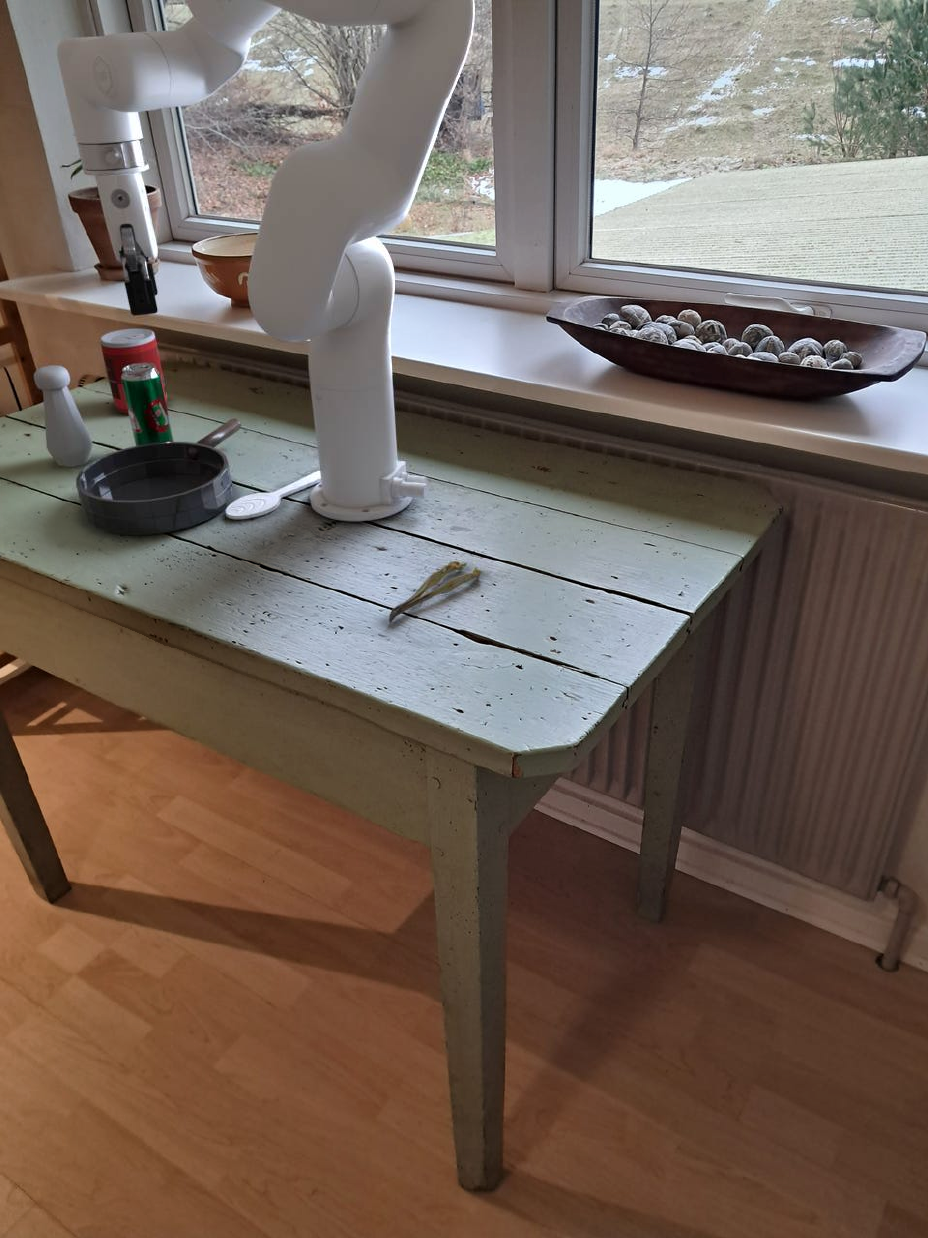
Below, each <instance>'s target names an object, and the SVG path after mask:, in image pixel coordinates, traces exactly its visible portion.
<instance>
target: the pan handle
mask: <svg viewBox="0 0 928 1238" xmlns="http://www.w3.org/2000/svg"><path fill="white" fill-rule="evenodd" d="M241 427H242V423H241V421H240V420H239V419H237V418H231V419H229V420H228V421H226V422H225V423H223V424H221V425H220V426H218V427H217V428H216V429H214V430H213V431H212V432H210V433H208V434H207V435H205V436H204V437H202V438H201V439H199V440H198V441H197V442H196V443H199V444H204V445H207V446H211V447H214V448H216V447H218V446H219V445H220V444H222V443H223V442H224V441H226V440H227V439H229V438H231V436H233V435H234V434H236V433H238V431H239V430H241ZM187 453H188V456H189V457H190V458H191V459H194V460H196V459H198V458H199V453H198V451H197V450H196V449H195V448H193V447H191V448H189V449H188V451H187Z"/></svg>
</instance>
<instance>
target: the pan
mask: <svg viewBox="0 0 928 1238" xmlns="http://www.w3.org/2000/svg"><path fill="white" fill-rule="evenodd" d="M191 447H193V448H195V449H196V450H197V451H198V453H199V458H198V459H196V460H194V459H191V458H190V457H189V456H188V453H187V451H188V449H189V448H191ZM231 475H232V474H231V469H230V463H229V460H228V458H227V455H226V454H225V453H224V452H222V451H221V450H220V449H218V448H216V447H211V446H207V445H204V444H199V443H197V442H191V441H190V442H189V441H174V442H159V443H151V444H144V445H138V446H136V445H134V446H129V447H125V448H122V449H118V450H116V451H112V452H109V453H107V454H105V455H103V456H100V457H98V458H96V459H94V460H93V461H91V462H90V463H88V464H86V466H84V467H83V468H82V469H81V470H80V471H79V472H78V474H77V476H76V477H75V485H76V490H77V493H78V494H77V495H78V496H79V501H80V506H81V509H82V513H83V516H84V518H85V519H86V521H87V523H88V524H90V525H91V526H93V527H95V528H96V529H99V530H101V531H104V532H108V533H113V534H117V535H125V536H152V535H160V534H167V533H172V532H177V531H181V530H185V529H188V528H191V527H194V526H197V525H199V524H201V523H204V522H206V521H208V520H210V519H212V518H213V517H215V516H217V515H218V514H220V513H221V512H222V511H224V510H225V508H226V509H227V508H228V506H229V505H230V504H231V503H232V500H233V496H234V488H233V482H232V476H231Z"/></svg>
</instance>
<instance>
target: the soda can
mask: <svg viewBox="0 0 928 1238" xmlns="http://www.w3.org/2000/svg"><path fill="white" fill-rule="evenodd" d="M122 372H123V374H122V376H121V381H122V385H123V390H124V394H125V399H126V403H127V408H128V412H129V414H128V417H129V421H130V426H131V430H132V435H133V440H134V444H135V446H138V445H144V444H151V443H159V442H175V441H174V436H173V431H172V427H171V422H170V416H169V411H168V407H167V402H166V401H165V396H164V391H163V386H162V381H161V376H160V372H159V371H158V370H157V369H156V366H155V365H154V364H152V363H136V364H131V365H128V366H126V367H124V368H123V369H122Z"/></svg>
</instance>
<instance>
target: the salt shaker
mask: <svg viewBox="0 0 928 1238" xmlns="http://www.w3.org/2000/svg"><path fill="white" fill-rule="evenodd" d="M33 381H34V383H35V386H36V387H37V388H38V389H39V390H42V397H43V411H44V413H43V414H44V426H45V441H46V449H47V451H48V453H49V454H50V455H51V457H52V458H53V459H54V461H55V462H56V463H57V465H58V466H59V467H66V468H74V467H78V466H81V465H85V464H86V463H87V462H88V461H89V460H90V459H91V455H92V449H93V439H92V437H91V435H90V432H89V430H88V429H87V426H86V424H85V422H84V420H83V417H82V416H81V413H80V411H79V408H78V407H77V405H76V402H75V400H74V398H73V396H72V394H71V392H70V389H69V388H68V385H69V384H70V383H71V377H70V373H69V371H68V370H67V369H66V368H65V367H64V366H62V365H46V366H42V367H40V368H38V369H36V370H35V371H34V373H33Z"/></svg>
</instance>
